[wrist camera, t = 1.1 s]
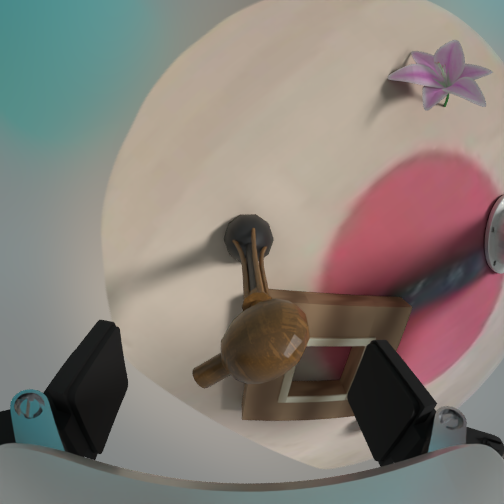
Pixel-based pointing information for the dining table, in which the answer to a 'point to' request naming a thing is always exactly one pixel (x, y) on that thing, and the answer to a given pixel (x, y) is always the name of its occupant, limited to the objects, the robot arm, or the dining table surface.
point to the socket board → (327, 334)
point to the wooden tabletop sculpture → (256, 317)
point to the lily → (443, 75)
